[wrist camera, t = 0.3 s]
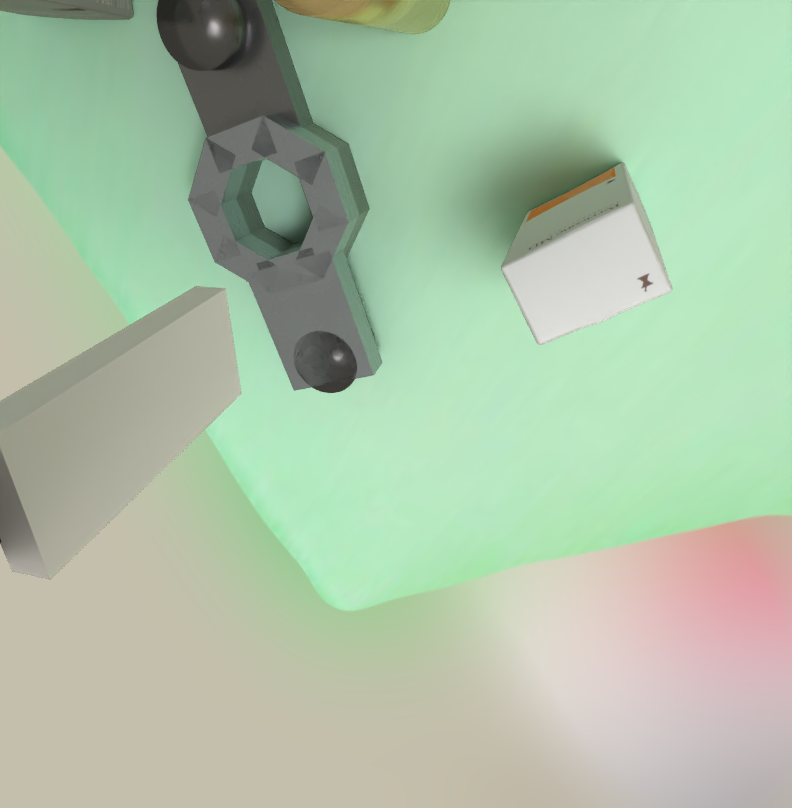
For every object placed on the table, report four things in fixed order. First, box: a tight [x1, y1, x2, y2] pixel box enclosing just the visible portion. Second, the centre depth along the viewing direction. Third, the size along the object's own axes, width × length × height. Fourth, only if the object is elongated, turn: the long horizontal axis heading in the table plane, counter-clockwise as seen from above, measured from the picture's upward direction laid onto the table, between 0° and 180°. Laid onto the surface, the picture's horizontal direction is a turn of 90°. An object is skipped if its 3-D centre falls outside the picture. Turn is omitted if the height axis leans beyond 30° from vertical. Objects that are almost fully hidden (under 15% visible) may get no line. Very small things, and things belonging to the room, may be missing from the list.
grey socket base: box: [157, 0, 382, 393], centre depth 39 cm, size 24×10×4 cm, turn 18°
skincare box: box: [501, 163, 673, 345], centre depth 31 cm, size 6×4×12 cm
